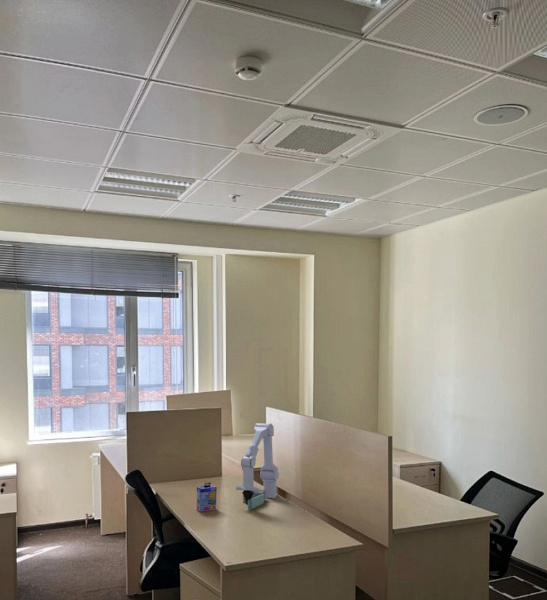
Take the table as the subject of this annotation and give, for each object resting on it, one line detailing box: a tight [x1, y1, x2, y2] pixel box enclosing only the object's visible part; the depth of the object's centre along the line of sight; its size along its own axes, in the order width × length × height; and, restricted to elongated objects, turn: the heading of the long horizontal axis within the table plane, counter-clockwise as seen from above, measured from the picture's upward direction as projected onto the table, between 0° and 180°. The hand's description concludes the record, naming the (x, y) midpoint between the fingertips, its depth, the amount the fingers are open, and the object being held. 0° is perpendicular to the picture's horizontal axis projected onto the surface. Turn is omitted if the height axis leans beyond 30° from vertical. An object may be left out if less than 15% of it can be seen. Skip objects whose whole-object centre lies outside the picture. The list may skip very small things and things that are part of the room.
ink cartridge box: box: [196, 482, 218, 513], centre depth 317 cm, size 10×6×14 cm, turn 122°
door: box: [247, 494, 265, 511], centre depth 321 cm, size 1×16×5 cm, turn 149°
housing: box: [242, 489, 266, 504], centre depth 333 cm, size 8×11×6 cm
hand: (248, 504), depth 317 cm, fingers closed
